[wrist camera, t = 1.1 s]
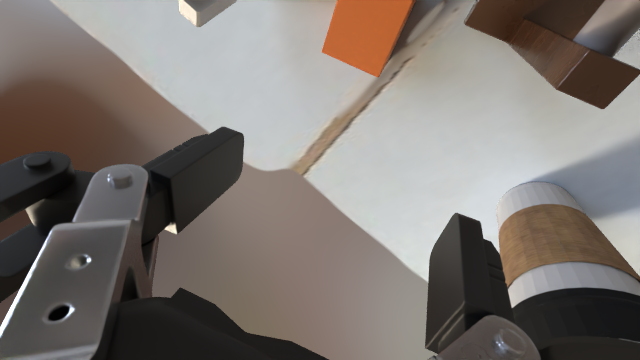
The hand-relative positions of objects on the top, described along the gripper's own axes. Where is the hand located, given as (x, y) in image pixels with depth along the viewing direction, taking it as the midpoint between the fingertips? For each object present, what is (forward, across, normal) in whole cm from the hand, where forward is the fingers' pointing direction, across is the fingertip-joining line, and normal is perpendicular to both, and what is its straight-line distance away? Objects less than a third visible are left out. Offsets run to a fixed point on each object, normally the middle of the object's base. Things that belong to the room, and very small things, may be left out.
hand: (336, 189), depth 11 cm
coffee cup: (+19, -16, +8) cm, 25 cm away
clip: (+18, +3, -4) cm, 18 cm away
